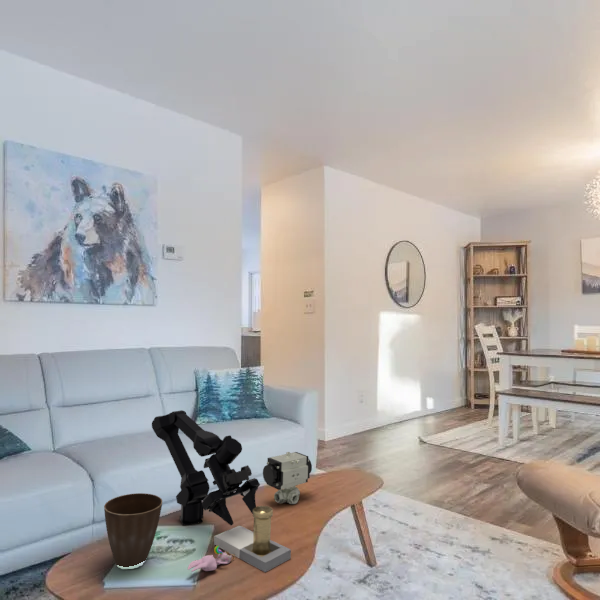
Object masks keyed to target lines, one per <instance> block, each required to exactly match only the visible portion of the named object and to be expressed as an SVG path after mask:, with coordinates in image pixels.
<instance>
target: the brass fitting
mask: <svg viewBox="0 0 600 600" xmlns="http://www.w3.org/2000/svg"><path fill="white" fill-rule="evenodd" d="M273 512H274V511H273V508H272V507H271V506H268V505H259V506H257V505H256V507H255V508H253V514H252V517H253V549H252V551H251V552H253V553H254V554H256V555H258V556H260V557H263V556H265V555H267V554H269V553H271V549H270V540H271V530H272V529H271V527H272V517H273V514H274V513H273Z"/></svg>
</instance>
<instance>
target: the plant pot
mask: <svg viewBox="0 0 600 600" xmlns="http://www.w3.org/2000/svg"><path fill="white" fill-rule="evenodd" d="M162 506H163V499H162V498H161V497H160V496H158V495H156V494H151V493H143V492H141V493H127V494H122V495H120V496H119V495H118V496H116V497H113V498H111V499H109V500H108V501H107V502H106V503H105V504H104V505H103V509H104V520H105V528H106V532H107V538H108V543H109V547H110V551H111V553H112V557H113V561H114V563H115V566H116V565H119V566H123V567H129V566H134V565H137V564H139V563H141V562H143V561H145V560H146V561H147V559H148V556H149V553H150V551H151V549H152V546H153V543H154V540H155V536H156V533H157V529H158V525H159V521H160V517H161V513H162V512H161V511H162ZM146 558H147V559H146Z"/></svg>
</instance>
